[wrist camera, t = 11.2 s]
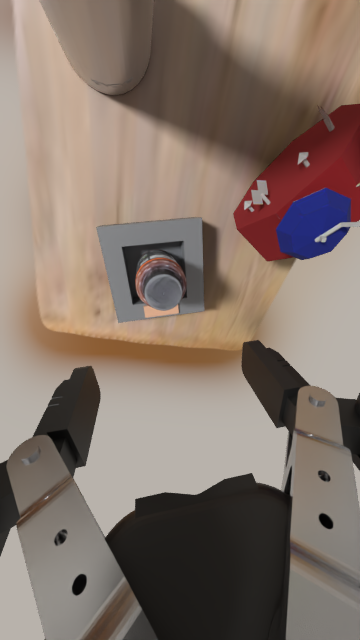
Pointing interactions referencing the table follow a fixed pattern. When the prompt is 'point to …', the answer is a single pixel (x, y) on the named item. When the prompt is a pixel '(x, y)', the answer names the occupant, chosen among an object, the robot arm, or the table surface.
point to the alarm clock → (307, 191)
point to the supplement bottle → (160, 280)
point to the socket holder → (138, 238)
